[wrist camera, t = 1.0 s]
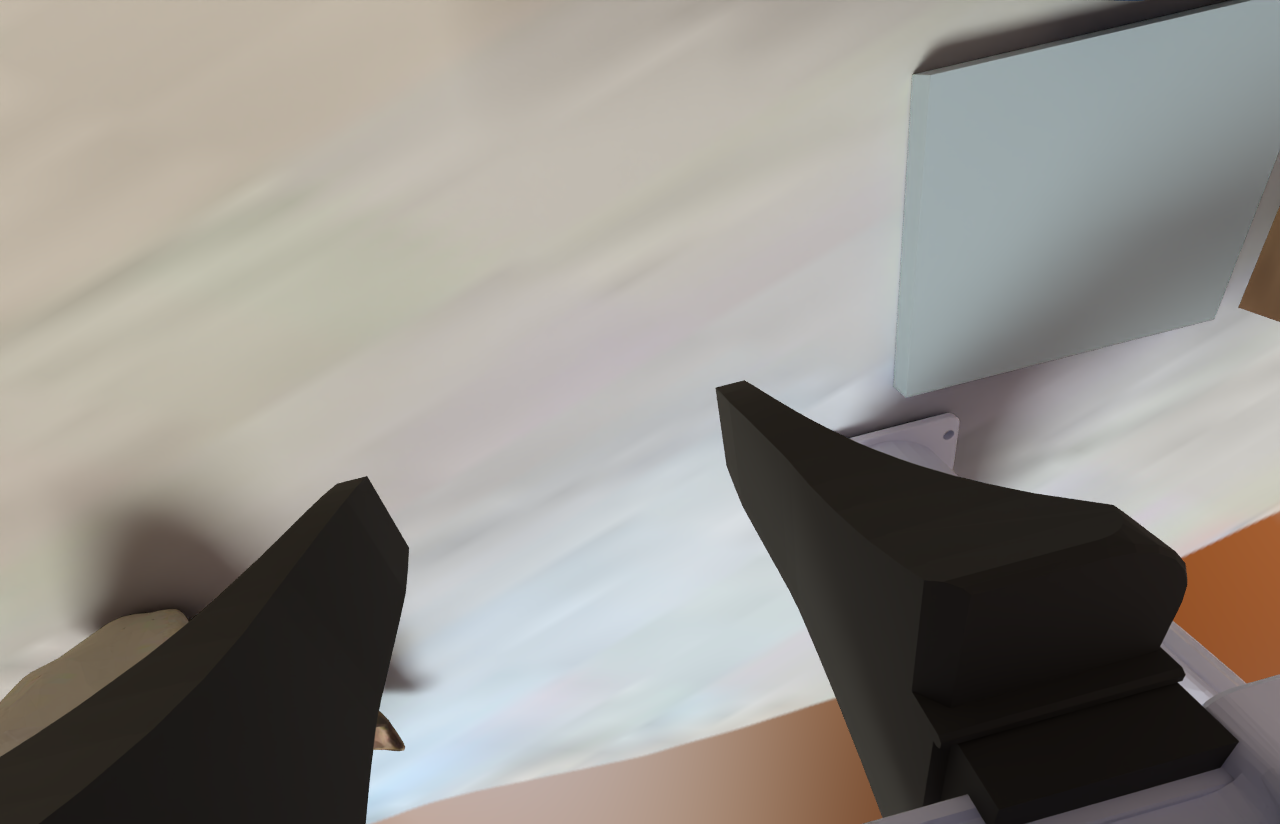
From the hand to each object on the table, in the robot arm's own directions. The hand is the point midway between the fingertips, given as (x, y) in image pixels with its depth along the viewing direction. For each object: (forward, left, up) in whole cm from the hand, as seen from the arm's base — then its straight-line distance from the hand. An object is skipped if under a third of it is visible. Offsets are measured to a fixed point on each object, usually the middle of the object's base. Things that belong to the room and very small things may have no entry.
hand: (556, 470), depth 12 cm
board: (-2, -20, -10) cm, 23 cm away
